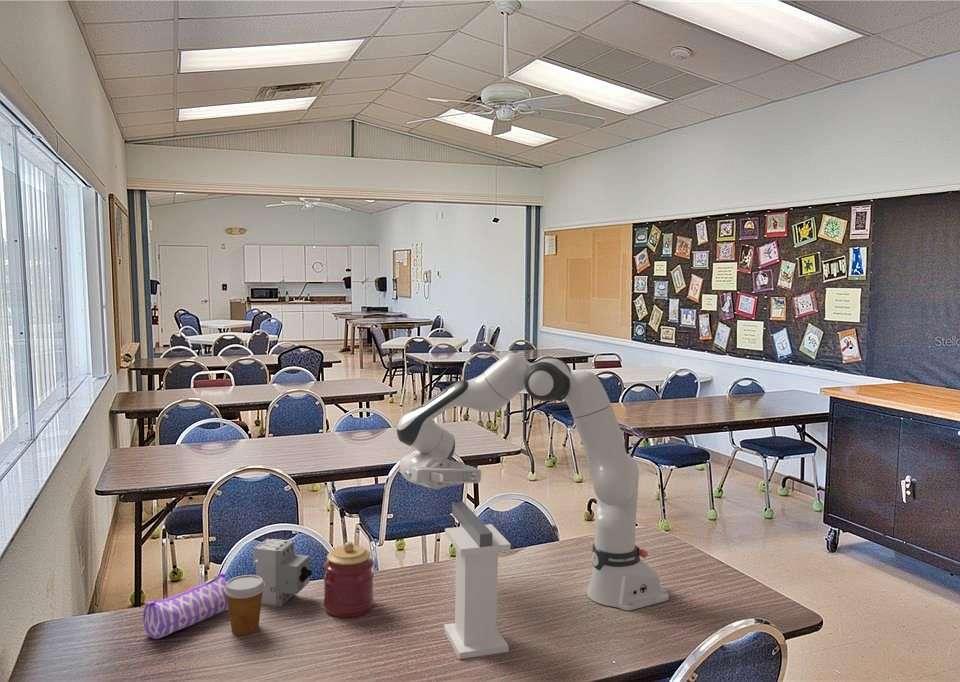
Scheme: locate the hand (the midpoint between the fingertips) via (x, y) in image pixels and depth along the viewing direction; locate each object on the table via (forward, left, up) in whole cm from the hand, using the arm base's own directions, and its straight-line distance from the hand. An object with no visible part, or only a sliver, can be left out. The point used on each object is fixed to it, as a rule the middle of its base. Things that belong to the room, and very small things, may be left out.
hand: (460, 478), depth 188 cm
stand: (+1, +20, -35) cm, 40 cm away
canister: (+28, -6, -35) cm, 45 cm away
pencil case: (+68, -9, -35) cm, 77 cm away
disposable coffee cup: (+54, -1, -35) cm, 65 cm away
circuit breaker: (+44, -15, -35) cm, 58 cm away
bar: (+1, +15, -9) cm, 17 cm away
